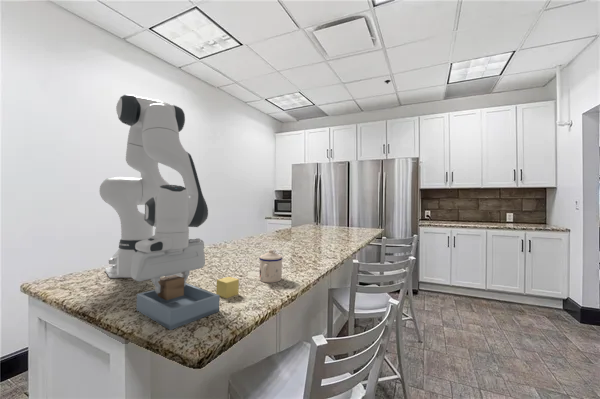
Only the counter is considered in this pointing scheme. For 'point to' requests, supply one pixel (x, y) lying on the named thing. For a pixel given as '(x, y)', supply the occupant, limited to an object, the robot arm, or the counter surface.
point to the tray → (178, 306)
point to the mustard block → (227, 287)
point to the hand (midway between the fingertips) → (170, 289)
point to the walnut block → (171, 287)
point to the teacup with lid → (270, 267)
